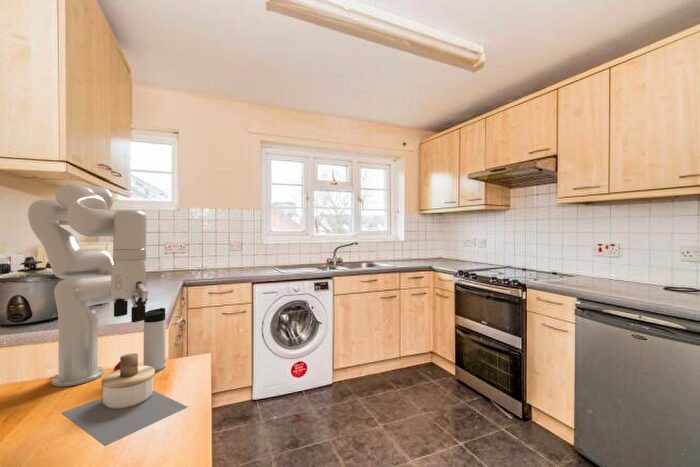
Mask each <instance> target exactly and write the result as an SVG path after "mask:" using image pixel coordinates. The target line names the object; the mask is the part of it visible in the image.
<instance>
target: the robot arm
mask: <svg viewBox="0 0 700 467" xmlns="http://www.w3.org/2000/svg"><path fill="white" fill-rule="evenodd" d="M54 197H55V198H46V199H45V198H43V199H38V200H35V201H33V202H32V203H31V204H30V205H29V207H28V210H27V218H28V224H29V226H30V228H31V230H32V232H33V234H34V235H35V237H36V238H37V239H38V240H39V241H40V243H41V245H42V246H43V248H44V251H45V254H46V257H47V259H48V264H49V265H50V268H51V271H52V272H53V274H54V276H55V277H57V278H59V279H63V280H61V281H59V282H57V284H56V285H55V287H54V290H53V291H54V295H53V296H54V300H55V305H56V308H57V309H56V310H57V315H58V316H57V317H58V318H57V319H58V320H57V321H58V351H57V352H58V358H57V359H58V360H57V361H58V374H56V375H55V376H53V377H52V379H51V382H50V383H51V385H52V386H54V387H72V386H77V385H82V384H86V383H89V382H92V381H93V380H96V379H98V378H99V377H101V376H102V375H103V374H104V368H103V367H102V366H98V365H99V364H98V359H99V358H98V357H99V356H98V355H99V354H98V351H99V349H98V348H99V347H98V346H99V345H98V344H99V342H98V340H99V339H98V338H99V336H98V335H99V333H98V330H99V327H98V326H99V325H98V323H99V322H98V317H97V316H96V315H95V313H94V312H93V311H91V310H90V308H89V307H91V306H92V307H93V306H96V305H101V304H109V303H113V317H116V318H117V317H123V316H127V315H128V301H129V299H130V301H131V304H132V306H131V315H130V318H131V319H130V320H131V323H139V322H144V320H145V312H146V306H147V301H148V297H149V296H148V295H149V290H148V289H147V273H146V271H147V270H146V264H145V262H146V261H147V214H146V212H145V211H141V210H133V209H132V210H131V209H129V210H127V209H121V210H120V209H118V210H117V209H112V206H113V204H114V197H113V195H112V193H111V192H110V190H109V189H107V188H106V187H103V186H100V185H99V186H98V185H88V184H81V183H67V184H63V185H60V186H59V187H58V188H57V189H56V191H55V194H54ZM62 226H69V227H70V228H71V230H74V231H75V232H76V233H78V234H80V235H82V236H84V237H92V238H93V237H94V238H96V237H97V238H98V237H99V238H101V237H112V255H111V254H110V252H109V251H107V250H105V249H102V248H83V247H80V245H79V242H78V239H77V238H76V236H75V235H73V234H72V233H71V232H70V231H68V230H67V229H65V227H64V228H63V227H62Z"/></svg>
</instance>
